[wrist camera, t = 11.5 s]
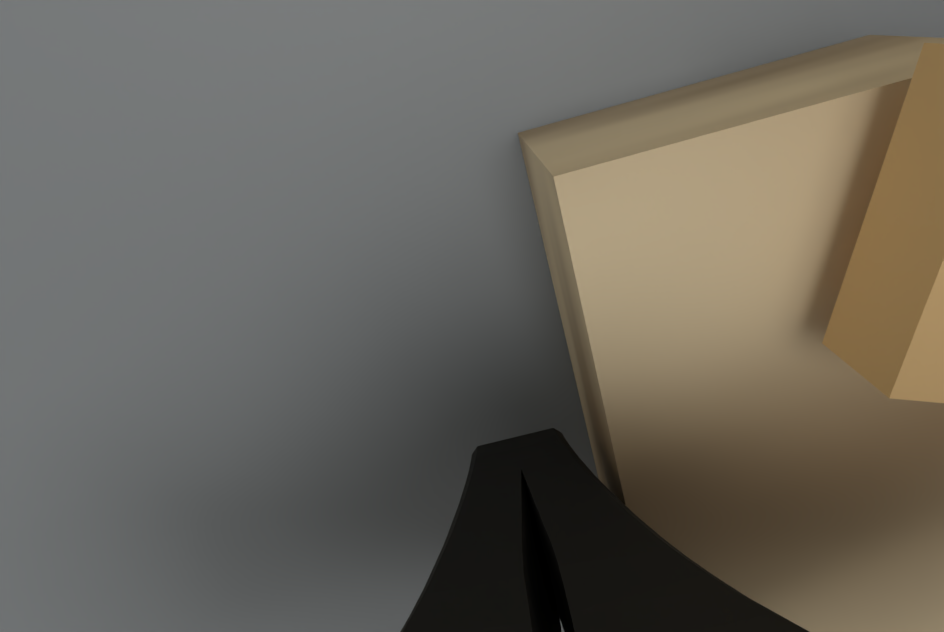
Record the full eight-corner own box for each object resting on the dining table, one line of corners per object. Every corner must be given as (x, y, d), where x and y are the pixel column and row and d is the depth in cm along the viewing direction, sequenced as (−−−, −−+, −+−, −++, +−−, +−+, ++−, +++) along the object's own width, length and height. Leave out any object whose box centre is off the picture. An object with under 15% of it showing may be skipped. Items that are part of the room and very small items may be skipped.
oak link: (897, 718, 15) (1002, 873, 13) (667, 774, 16) (720, 937, 13) (868, 35, 10) (1042, 41, 7) (517, 132, 10) (553, 176, 7)
